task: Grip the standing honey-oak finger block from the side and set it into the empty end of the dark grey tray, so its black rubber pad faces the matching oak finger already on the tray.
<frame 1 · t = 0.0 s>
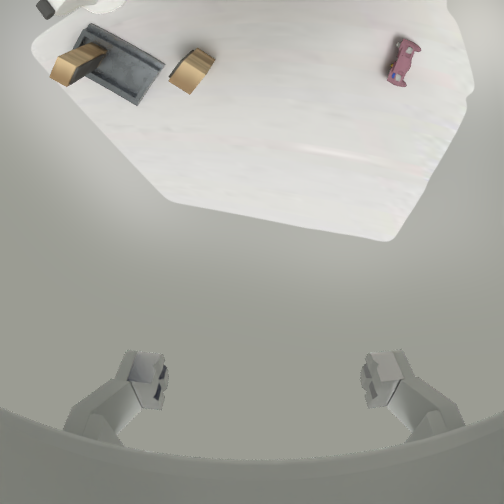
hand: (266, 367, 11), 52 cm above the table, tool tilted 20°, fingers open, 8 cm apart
video game controller: (398, 60, 44), on the table
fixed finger: (94, 54, 43), resting on dark grey tray
dark grey tray: (114, 63, 45), on the table
oak finger: (199, 61, 47), on the table
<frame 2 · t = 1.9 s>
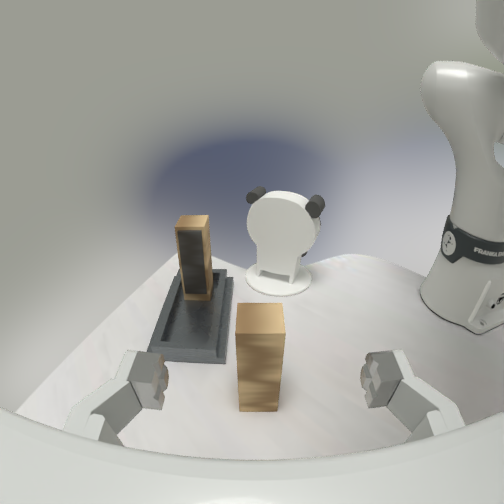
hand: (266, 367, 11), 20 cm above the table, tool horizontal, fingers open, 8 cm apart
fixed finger: (199, 292, 47), resting on dark grey tray
dark grey tray: (195, 316, 44), on the table
oak finger: (258, 397, 32), on the table
panda figurine: (280, 278, 53), on the table
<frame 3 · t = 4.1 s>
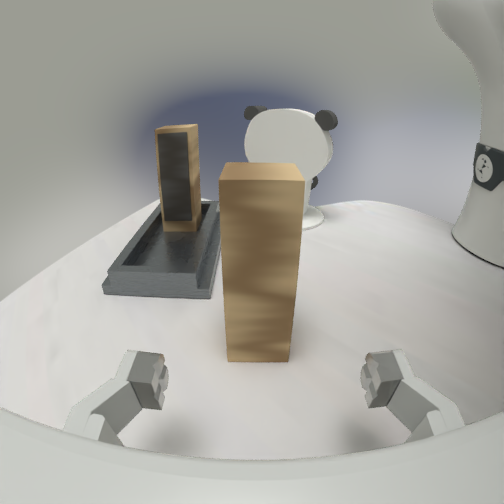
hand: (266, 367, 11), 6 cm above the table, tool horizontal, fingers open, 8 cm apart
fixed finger: (183, 224, 37), resting on dark grey tray
dark grey tray: (175, 249, 34), on the table
oak finger: (257, 341, 21), on the table
panda figurine: (285, 216, 43), on the table
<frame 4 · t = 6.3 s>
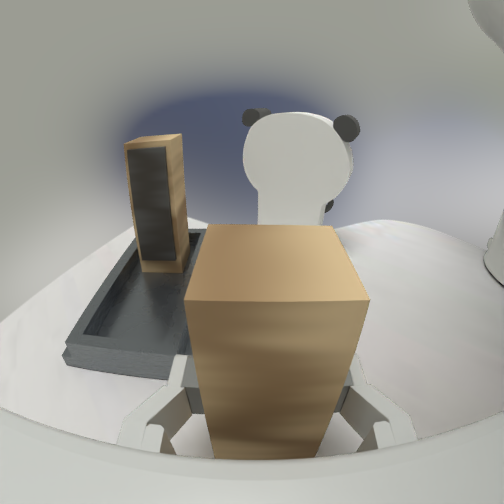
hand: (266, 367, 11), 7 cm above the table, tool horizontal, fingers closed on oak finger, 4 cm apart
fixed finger: (167, 261, 30), resting on dark grey tray
dark grey tray: (156, 297, 26), on the table
oak finger: (261, 453, 14), on the table, touching gripper
panda figurine: (293, 245, 35), on the table
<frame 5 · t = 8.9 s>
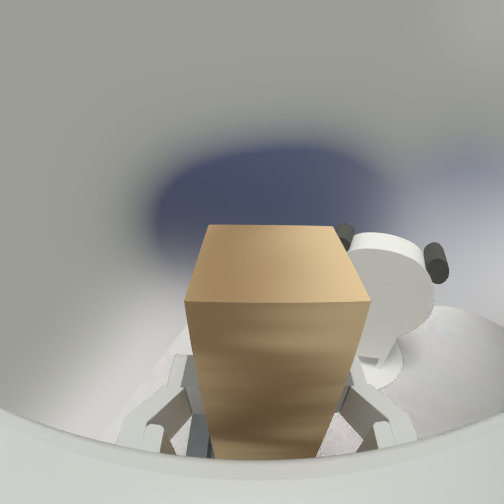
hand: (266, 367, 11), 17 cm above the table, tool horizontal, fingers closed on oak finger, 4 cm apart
dark grey tray: (245, 440, 24), on the table
oak finger: (262, 453, 14), point 10 cm above the table, touching gripper
panda figurine: (359, 356, 33), on the table
when the fingers open (9 cm above the table, at t = 11.8 s): oak finger drops 1 cm, resting on dark grey tray.
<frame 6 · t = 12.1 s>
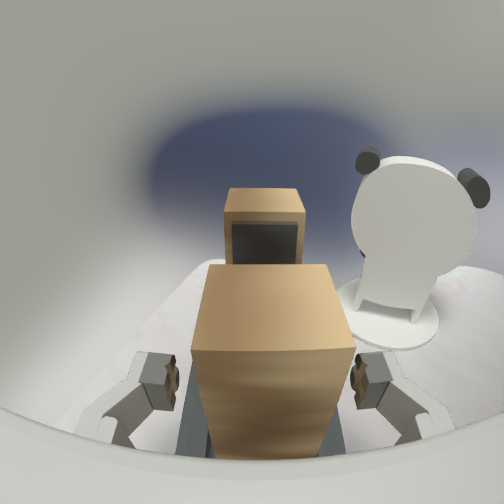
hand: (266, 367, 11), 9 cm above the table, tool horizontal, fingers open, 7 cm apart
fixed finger: (260, 354, 22), resting on dark grey tray
dark grey tray: (260, 410, 19), on the table
oak finger: (262, 462, 14), point 1 cm above the table, touching dark grey tray
panda figurine: (389, 312, 28), on the table
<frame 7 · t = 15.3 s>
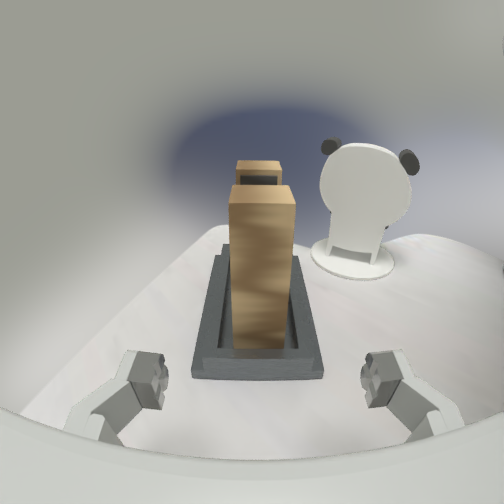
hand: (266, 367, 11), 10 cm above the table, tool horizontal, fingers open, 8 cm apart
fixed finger: (256, 275, 34), resting on dark grey tray
dark grey tray: (257, 308, 30), on the table
oak finger: (258, 332, 26), point 1 cm above the table, touching dark grey tray
panda figurine: (354, 259, 39), on the table
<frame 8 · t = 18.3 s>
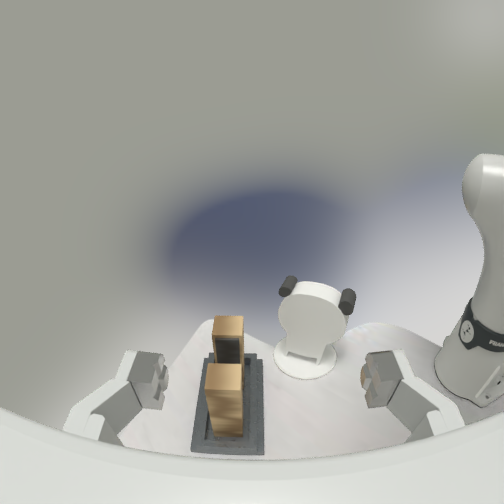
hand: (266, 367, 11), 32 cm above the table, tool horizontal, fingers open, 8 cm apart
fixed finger: (231, 379, 47), resting on dark grey tray
dark grey tray: (230, 404, 44), on the table
oak finger: (229, 425, 39), point 1 cm above the table, touching dark grey tray
panda figurine: (306, 356, 53), on the table
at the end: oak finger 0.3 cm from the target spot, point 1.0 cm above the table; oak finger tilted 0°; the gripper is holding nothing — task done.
